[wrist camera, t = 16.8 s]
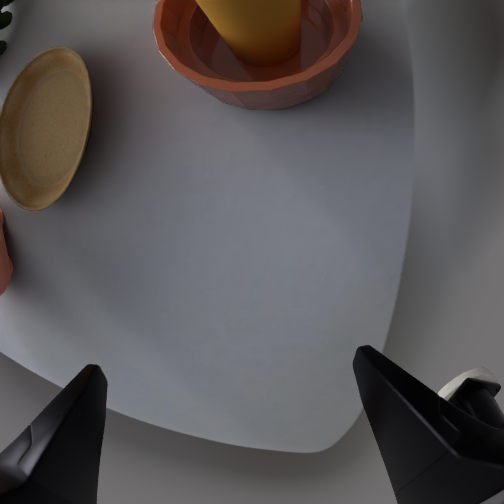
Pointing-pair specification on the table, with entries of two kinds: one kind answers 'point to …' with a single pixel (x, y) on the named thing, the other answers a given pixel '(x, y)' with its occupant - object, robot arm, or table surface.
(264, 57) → the cylinder
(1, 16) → the toy figurine
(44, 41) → the table surface
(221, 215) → the table surface
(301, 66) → the pot
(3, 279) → the teapot
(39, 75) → the plant saucer
